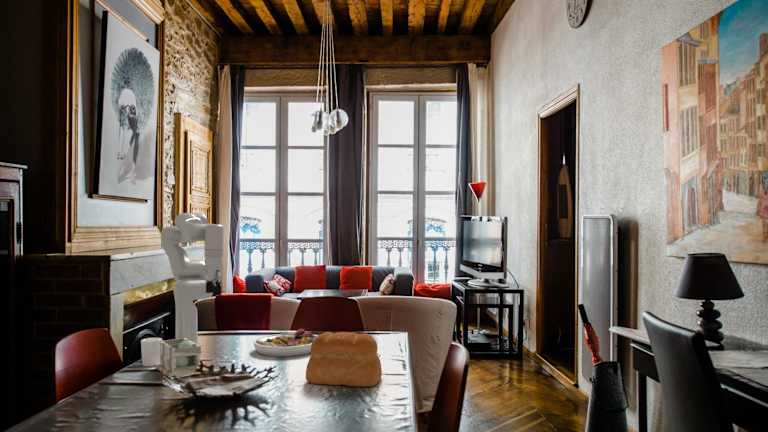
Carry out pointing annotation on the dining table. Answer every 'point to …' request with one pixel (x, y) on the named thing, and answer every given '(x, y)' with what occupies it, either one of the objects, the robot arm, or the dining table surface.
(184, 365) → the sage ball
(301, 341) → the bowl
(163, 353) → the grey divided rectangular box
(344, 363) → the bread
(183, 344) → the sage ball
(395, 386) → the dining table surface
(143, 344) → the white cup
